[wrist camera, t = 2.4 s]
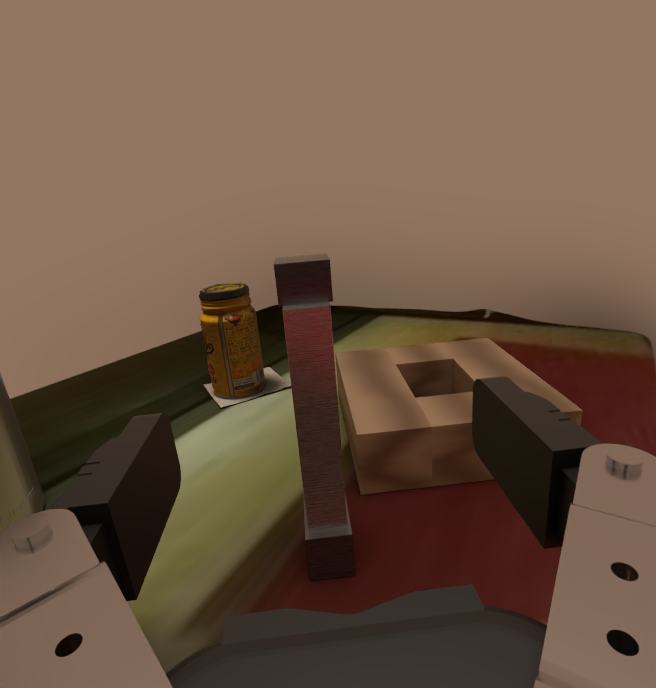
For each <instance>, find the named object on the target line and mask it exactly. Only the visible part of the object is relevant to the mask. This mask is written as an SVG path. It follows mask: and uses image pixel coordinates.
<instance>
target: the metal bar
mask: <svg viewBox="0 0 656 688" xmlns="http://www.w3.org/2000/svg"><path fill="white" fill-rule="evenodd" d="M274 270H275V278H276V287H277V296H278V304H279V306H283V318H284V326H285V335H286V343H287V352H288V361H289V369H290V378H291V386H292V395H293V403H294V412H295V421H296V429H297V438H298V446H299V455H300V463H301V472H302V481H303V490H304V516H305V541H306V549H307V557H308V566H309V574H310V581H316V580H324V579H332V578H340V577H348V576H355V565H354V552H353V539H352V531H351V525H350V519H349V513H348V507H347V502H346V496H345V489H344V476H343V463H342V450H341V438H340V425H339V412H338V400H337V387H336V374H335V362H334V349H333V336H332V324H331V311H330V304H329V302H330V301H333V296H332V286H331V285H332V284H331V270H330V259H329V257H328V255H327V254H316V255H305V256H294V257H283V258H275V262H274Z"/></svg>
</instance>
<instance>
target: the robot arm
mask: <svg viewBox="0 0 656 688" xmlns="http://www.w3.org/2000/svg"><path fill="white" fill-rule="evenodd" d="M472 439H473V444H474V448H475V450H476V453H477V455H478V457H479V458H480V459H481V461H482V462H483V464H484V465H485V466H486V468H487V469H488V471H489V472H490V473H491V475H492V476H493V478H494V479H495V480H496V482H497V483H498V485H499V486H500V487H501V489H502V490H503V492H504V493H505V494H506V496H507V497H508V499H509V500H510V501H511V503H512V504H513V506H514V507H515V509H516V510H517V511H518V513H519V514H520V516H521V517H522V518H523V520H524V521H525V523H526V524H527V525H528V527H529V528H530V530H531V531H532V532H533V534H534V535H535V537H536V538H537V539H538V541H539V542H540V544H541V545H542V546H543V548H544V549H547V548H555V547H562V551H561V556H560V562H559V567H558V572H557V577H556V583H555V588H554V593H553V598H552V604H551V609H550V614H549V619H548V625H547V626H546V625H545V624H543V623H541V622H539V621H537V620H534V619H532V618H530V617H527V616H525V615H523V614H519V613H516V612H513V611H510V610H507V609H502V608H498V607H493V606H486V605H483V604H482V602H481V600H480V598H479V596H478V594H477V591H476V589H475V587H474V585H473V584H469V585H462V586H454V587H446V588H439V589H431V590H424V591H416V592H412V593H409V594H406V595H404V596H401V597H399V598H396V599H394V600H391V601H388V602H386V603H383V604H381V605H378V606H376V607H373V608H370V609H368V610H365V611H363V612H360V613H357V614H352V615H345V614H335V613H326V612H317V611H307V610H298V609H288V608H286V609H279V610H271V611H264V612H256V613H248V614H241V615H233V616H225V622H224V628H223V634H222V640H220V641H217V642H215V643H213V644H211V645H209V646H207V647H205V648H203V649H201V650H199V651H197V652H195V653H194V654H192V655H191V656H189V657H188V658H186V659H184V660H183V661H182V662H180V663H179V664H178V665H176V666H175V667H174V668H172V669H171V670H170V671H169V672H167V673H166V674H165V673H164V671H163V669H162V667H161V665H160V663H159V661H158V659H157V658H156V656H155V654H154V652H153V650H152V648H151V646H150V645H149V643H148V641H147V639H146V637H145V635H144V633H143V631H142V630H141V628H140V626H139V624H138V622H137V620H136V618H135V617H134V615H133V613H132V611H131V609H130V607H129V605H128V603H127V602H126V601H131V600H137V597H138V595H139V592H140V590H141V587H142V584H143V582H144V579H145V577H146V574H147V572H148V569H149V566H150V564H151V561H152V559H153V556H154V554H155V551H156V548H157V546H158V543H159V541H160V538H161V536H162V533H163V531H164V528H165V525H166V523H167V520H168V518H169V515H170V513H171V510H172V507H173V505H174V502H175V500H176V497H177V495H178V492H179V489H180V483H181V470H180V464H179V459H178V455H177V451H176V446H175V442H174V437H173V433H172V429H171V424H170V420H169V418H168V416H167V414H165V413H160V414H151V415H142V416H134V417H133V418H132V419H131V421H130V422H129V423H128V425H127V426H126V428H125V429H124V430H123V432H122V433H121V434H120V436H119V437H115V438H112V439H111V440H109V441H108V442H107V443H105V444H104V445H102V446H101V447H100V448H98V449H97V450H96V451H95V452H94V453H93V454H92V456H91V457H90V458H89V460H88V461H87V462H86V466H83V467H82V469H81V470H80V471H79V472H78V474H77V477H75V478H74V479H73V480H72V481H71V483H70V484H69V485H68V487H67V488H66V489H65V490H64V492H63V493H62V494H61V496H60V497H59V498H58V499H57V501H56V502H55V503H54V505H53V506H52V507H51V508H50V510H45V511H43V508H44V506H45V497H44V494H43V491H42V489H41V486H40V483H39V480H38V477H37V475H36V472H35V469H34V466H33V463H32V461H31V458H30V454H29V451H28V449H27V446H26V443H25V440H24V438H23V435H22V432H21V429H20V426H19V424H18V421H17V418H16V415H15V412H14V410H13V407H12V404H11V401H10V398H9V396H8V393H7V390H6V388H5V384H4V382H3V379H2V376H1V373H0V688H656V457H654V456H653V455H651V454H649V453H647V452H644V451H642V450H639V449H636V448H633V447H629V446H624V445H618V444H602V443H601V442H600V441H599V440H597V439H596V438H595V437H594V436H592V435H591V434H590V433H589V432H587V431H586V430H585V429H584V428H582V427H581V426H580V425H579V424H577V423H576V422H575V421H574V420H572V421H571V418H570V417H569V416H567V415H566V414H565V413H564V412H560V409H559V408H557V407H556V406H555V405H554V404H552V403H551V402H550V401H549V400H547V399H545V398H543V397H540V396H538V395H536V394H533V393H531V392H524V391H523V390H522V389H521V388H520V387H519V386H517V385H516V384H515V383H514V382H513V381H511V380H510V379H509V378H508V377H506V376H499V377H490V378H481V379H476V380H475V382H474V384H473V403H472Z"/></svg>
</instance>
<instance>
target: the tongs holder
mask: <svg viewBox="0 0 656 688" xmlns="http://www.w3.org/2000/svg"><path fill="white" fill-rule="evenodd" d="M335 354H336V367H337V379H338V392H339V400H340V404H341V409H342V413H343V418H344V422H345V427H346V431H347V435H348V440H349V444H350V449H351V453H352V458H353V462H354V467H355V471H356V476H357V480H358V484H359V489H360V493H361V495H364V494H373V493H382V492H390V491H399V490H407V489H416V488H425V487H433V486H442V485H451V484H459V483H468V482H477V481H485V480H494V478H493V476H492V475H491V473H490V472H489V471H488V469H487V468H486V466H485V465H484V464H483V462H482V461H481V459H480V458H479V457H478V455H477V453H476V450H475V448H474V444H473V439H472V403H473V384H474V382H475V380H476V379H481V378H490V377H499V376H506V377H508V378H509V379H510V380H511V381H513V382H514V383H515V384H516V385H517V386H519V387H520V388H521V389H522V390H523V391H524V392H531V393H533V394H536V395H538V396H540V397H543V398H545V399H547V400H549V401H550V402H551V403H552V404H554V405H555V406H556V407H557V408H559V409H560V412H564V413H565V414H566V415H567V416H569V417H570V418H571V421H572V420H574V421H575V422H576V423H577V424H579V425H581V418H582V410H581V409H580V408H579V407H577V406H576V405H575V404H574V403H572V402H571V401H570V400H568V399H567V398H566V397H564V396H563V395H562V394H560V393H559V392H558V391H556V390H555V389H554V388H553V387H551V386H550V385H549V384H547V383H546V382H545V381H543V380H542V379H541V378H539V377H538V376H537V375H535V374H534V373H533V372H532V371H530V370H529V369H528V368H526V367H525V366H524V365H522V364H521V363H520V362H518V361H517V360H516V359H515V358H513V357H512V356H511V355H509V354H508V353H507V352H505V351H504V350H503V349H501V348H500V347H499V346H497V345H496V344H495V343H494V342H492V341H491V340H490V339H488V338H482V339H472V340H462V341H452V342H442V343H432V344H422V345H412V346H403V347H393V348H383V349H373V350H363V351H353V352H343V353H335Z"/></svg>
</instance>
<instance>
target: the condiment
mask: <svg viewBox="0 0 656 688" xmlns="http://www.w3.org/2000/svg"><path fill="white" fill-rule="evenodd" d="M199 298H200V300H201V308H202V310H203V313H202V314H201V316H200V320H201V327H202V333H203V338H204V343H205V351H206V355H207V361H208V366H209V372H210V377H211V382H212V383H211V384H206V385H205V384H204V386H205V388H206V389H207V391H208V392H209V393H210V395H211V396H212V397H213V398H214V400H215V401H216V402H217V403H218V405H219V406H220V407H225V406H229V405H232V404H236V403H239V402H242V401H247V400H250V399H253V398H256V397H258V396H261V395H263V394H265V393H271V392H274V391H278V390H280V389H282V388H285V387H289V386H291V383H289V382H287V381H286V380H285V379H283V378H282V377H281V376H279V375H278V374H277V373H276V372H274V371H273V370H272V369H271V368H270V367H268V368H263V362H262V354H261V347H260V340H259V333H258V325H257V317H256V311H255V310H254V308H253V307H252V306H251V305H250V303H251V299H250V297H249V288H248V286H247V285H245V284H242V283H226V284H218V285H213V286H209V287H206V288H203V289H202V290H201V291H200V295H199Z"/></svg>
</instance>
